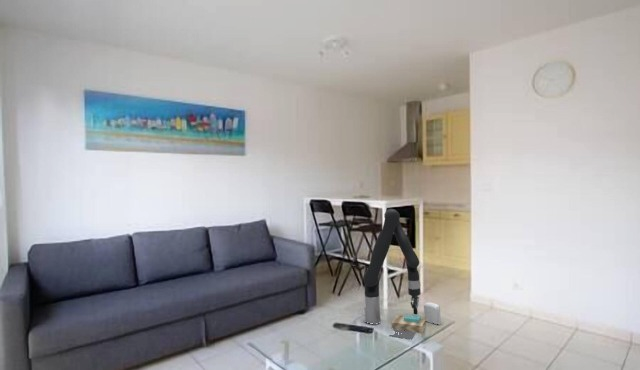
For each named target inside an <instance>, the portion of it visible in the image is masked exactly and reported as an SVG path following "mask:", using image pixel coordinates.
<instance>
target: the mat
mask: <svg viewBox="0 0 640 370" xmlns="http://www.w3.org/2000/svg"><path fill="white" fill-rule="evenodd" d="M393 330H394V331H395V334H394V335H390V334H389V335H388V336H389V337H390V336H392V338H397V337H399V338H398V339H403V338H405V339H404V340H410V339H411V341H412V340H413V339H414V336H415V335H416V333H417V332H411V331H404V330H397V329H393ZM396 332H397V333H396ZM398 332H399V335H398ZM401 333H402V334H401Z"/></svg>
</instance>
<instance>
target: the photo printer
mask: <svg viewBox="0 0 640 370" xmlns="http://www.w3.org/2000/svg"><path fill="white" fill-rule="evenodd" d="M423 310H424V311H423V312H424V319H426V321H427V322H426V323H430V324H433V323H434V325H437V324H440V323H441V324H442V321H441V320H442V319H441V307H440V305H438V304H437V303H435V302H429V301H427V302H425V303H424V304H423ZM441 324H440V325H441Z"/></svg>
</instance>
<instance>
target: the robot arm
mask: <svg viewBox="0 0 640 370" xmlns="http://www.w3.org/2000/svg"><path fill="white" fill-rule="evenodd" d="M400 217H401V216H400V213H399V211H398V210H396V209H393V208H389V209H387V210H386V211H385V212H384V221H383V226H382V229H381V231H380V232H379V234H378V236H377V239H376V240H375V243H374V246H373V248H372V251H371V258H370V262H369V265H368V266H367V270H366V271H365V273H364V275H363V282H364V302H365V303H364V304H365V305H364V306H365V307H364V309H363V310H364V322H365V321H366V322H368V323H373V324H376V323H379V322H382V320H381V306H380V301H381V300H380V283H379V280H380V279H379V276H380V272H381V269H382V266H383V264H384V262H385V259H386V258H387V255H388V253H389V249H390V247H391V242H392V239H393V235H394V236H395V238H396V241H397V243H398V246H399V248H400V250H401V252H402V254H403V255H404V256H405V263H406V264H405V266H406V271H407V289H408V291H407V292H408V295H409V296H411V298H410V306H411V308H412V311H413V315H415V316H418V312H419V310H418V308H419V301H420V297H419V296H420V295H421V282H420V273H419V270H418V267H419V265H420V259H419V257H418V255H417V254H416V252H415V251H414V248H413V246H412V243H411V241H410V239H409V238H408V237H409V236H408V235H407V234H406V231H405V230H404V229H403V226H402V224H401V221H400V219H401V218H400ZM368 323H367V324H368ZM379 324H380V323H379ZM376 325H377V324H376Z"/></svg>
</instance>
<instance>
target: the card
mask: <svg viewBox="0 0 640 370" xmlns="http://www.w3.org/2000/svg"><path fill="white" fill-rule="evenodd" d="M421 318H422V317H421V316H420V315H414V314H405V317H404V321H406V322H413V323H419V322H420V320H421Z"/></svg>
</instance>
